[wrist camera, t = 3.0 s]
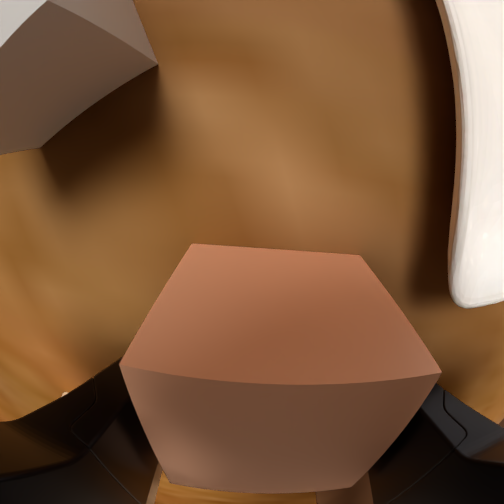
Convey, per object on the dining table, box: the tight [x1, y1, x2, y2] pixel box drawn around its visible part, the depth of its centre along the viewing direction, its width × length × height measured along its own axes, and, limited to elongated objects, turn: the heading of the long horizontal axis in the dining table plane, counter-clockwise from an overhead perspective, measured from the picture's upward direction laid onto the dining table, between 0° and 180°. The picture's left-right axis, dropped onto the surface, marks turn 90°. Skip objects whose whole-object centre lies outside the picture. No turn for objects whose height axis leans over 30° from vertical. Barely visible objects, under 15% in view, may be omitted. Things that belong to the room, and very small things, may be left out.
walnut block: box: [316, 471, 373, 504], centre depth 10 cm, size 5×5×5 cm
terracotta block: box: [119, 244, 442, 493], centre depth 7 cm, size 5×5×5 cm
